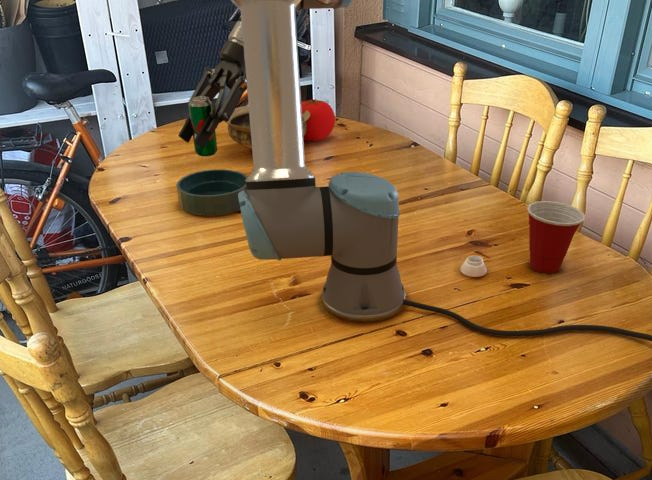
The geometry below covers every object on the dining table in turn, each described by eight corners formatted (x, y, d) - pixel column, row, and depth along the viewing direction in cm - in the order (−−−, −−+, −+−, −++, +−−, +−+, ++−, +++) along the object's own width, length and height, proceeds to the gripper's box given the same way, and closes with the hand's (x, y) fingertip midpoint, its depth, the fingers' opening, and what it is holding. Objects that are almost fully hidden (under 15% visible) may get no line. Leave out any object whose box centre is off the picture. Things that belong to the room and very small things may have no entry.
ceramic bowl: (326, 162, 188) (325, 125, 183) (239, 174, 182) (235, 136, 176) (294, 130, 212) (292, 96, 206) (216, 139, 205) (212, 104, 199)
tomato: (343, 137, 204) (343, 98, 198) (311, 148, 197) (310, 109, 190) (315, 129, 211) (313, 91, 205) (283, 139, 204) (281, 101, 197)
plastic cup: (584, 277, 135) (596, 219, 128) (530, 282, 134) (540, 224, 127) (560, 251, 144) (571, 196, 137) (510, 256, 142) (518, 201, 135)
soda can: (222, 151, 159) (216, 97, 152) (207, 158, 155) (200, 103, 148) (205, 148, 161) (198, 94, 154) (190, 154, 157) (182, 100, 150)
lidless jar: (476, 281, 134) (491, 272, 137) (477, 267, 133) (492, 258, 135) (455, 272, 137) (470, 264, 140) (456, 259, 135) (471, 250, 138)
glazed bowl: (265, 202, 167) (264, 181, 164) (208, 224, 157) (205, 202, 154) (222, 184, 177) (220, 164, 174) (165, 203, 167) (162, 182, 164)
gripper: (279, 66, 151) (226, 160, 152) (227, 54, 162) (179, 142, 162) (258, 44, 145) (204, 142, 146) (206, 33, 156) (155, 124, 156)
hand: (190, 142), depth 154 cm, fingers closed on soda can, 5 cm apart
